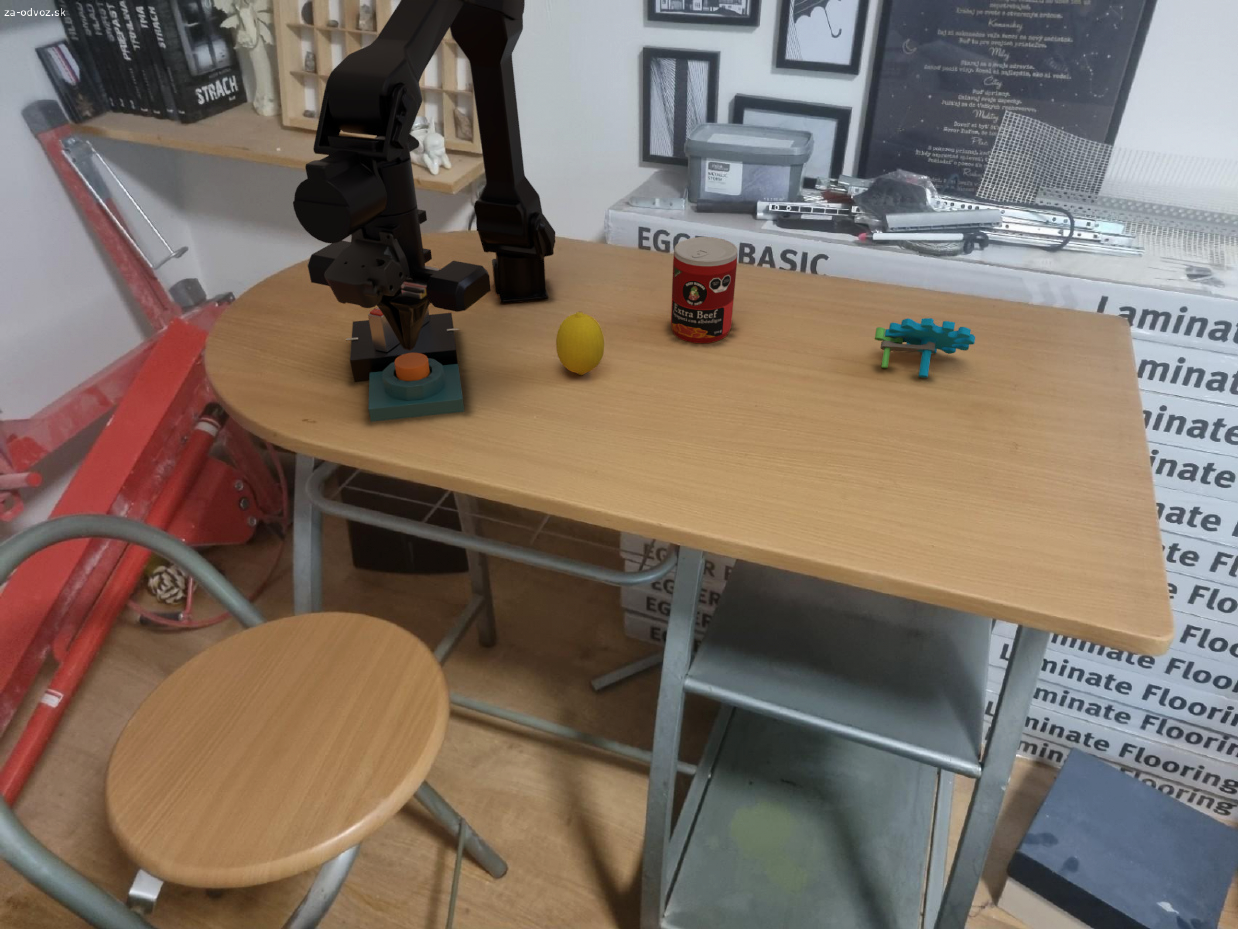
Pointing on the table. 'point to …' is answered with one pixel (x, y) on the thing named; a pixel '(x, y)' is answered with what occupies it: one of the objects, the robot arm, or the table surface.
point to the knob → (385, 330)
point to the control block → (415, 393)
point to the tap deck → (431, 342)
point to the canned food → (703, 289)
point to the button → (412, 367)
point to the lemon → (580, 343)
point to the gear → (923, 340)
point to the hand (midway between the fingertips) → (409, 348)
